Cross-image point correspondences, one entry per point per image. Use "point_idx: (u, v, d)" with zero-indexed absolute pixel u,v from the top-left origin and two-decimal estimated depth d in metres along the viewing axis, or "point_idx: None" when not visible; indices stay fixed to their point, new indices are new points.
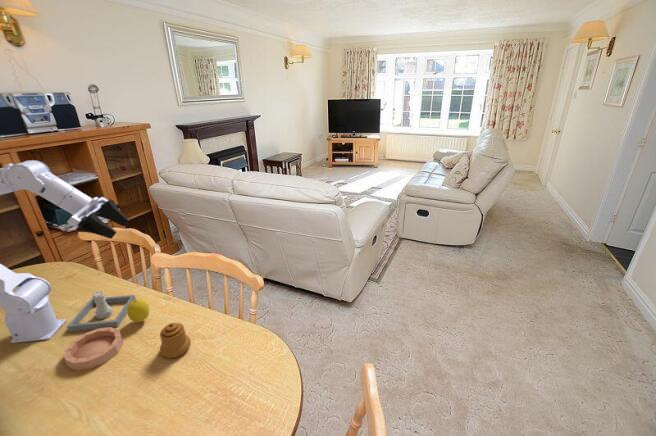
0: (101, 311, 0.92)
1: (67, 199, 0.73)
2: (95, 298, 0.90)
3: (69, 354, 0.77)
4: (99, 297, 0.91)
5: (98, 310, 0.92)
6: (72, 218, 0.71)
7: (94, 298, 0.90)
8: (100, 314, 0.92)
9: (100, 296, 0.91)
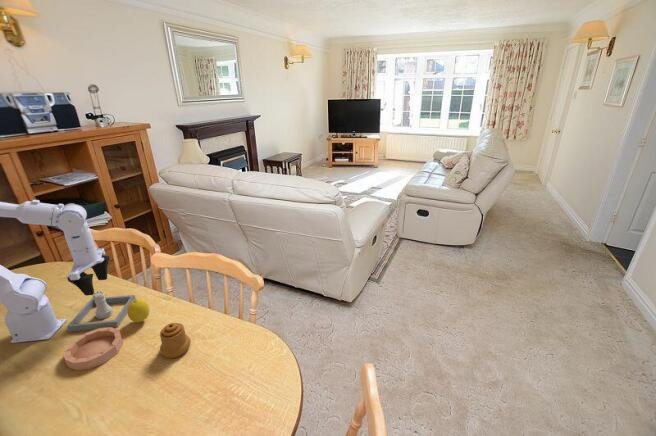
0: (101, 311, 0.92)
1: (82, 252, 0.83)
2: (95, 298, 0.90)
3: (69, 354, 0.77)
4: (99, 297, 0.91)
5: (98, 310, 0.92)
6: (75, 275, 0.81)
7: (94, 298, 0.90)
8: (100, 314, 0.92)
9: (100, 296, 0.91)
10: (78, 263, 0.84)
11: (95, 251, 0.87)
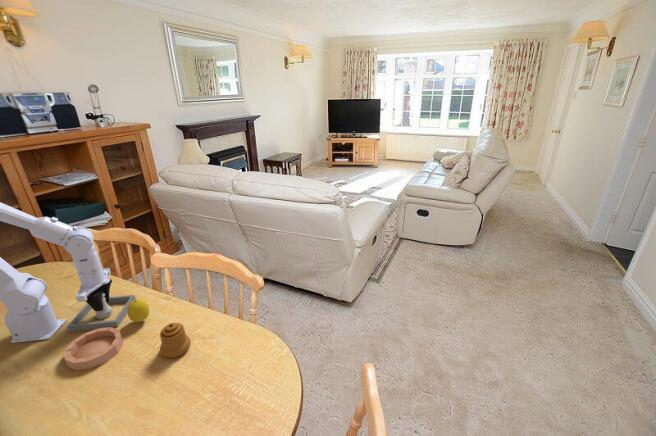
0: (101, 311, 0.92)
1: (89, 275, 0.86)
2: None
3: (69, 354, 0.77)
4: None
5: None
6: (83, 297, 0.83)
7: None
8: (100, 314, 0.92)
9: None
10: (85, 285, 0.87)
11: (101, 272, 0.89)
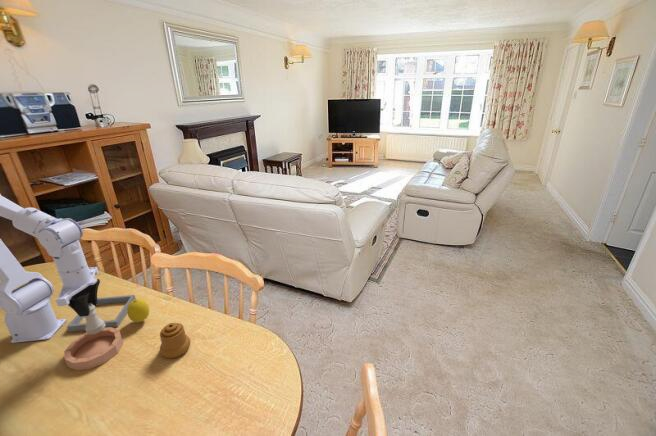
0: (91, 326, 0.81)
1: (73, 274, 0.74)
2: None
3: (69, 354, 0.77)
4: None
5: (88, 325, 0.81)
6: (64, 300, 0.71)
7: None
8: (90, 329, 0.81)
9: (89, 309, 0.80)
10: (67, 286, 0.75)
11: (87, 272, 0.77)
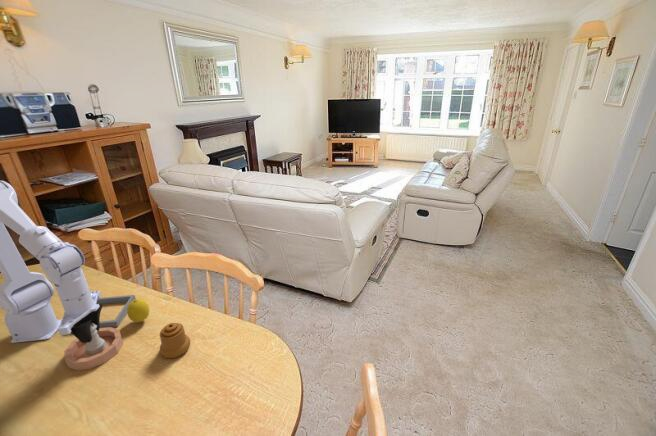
0: (91, 346, 0.79)
1: (74, 301, 0.72)
2: None
3: (69, 354, 0.77)
4: None
5: (88, 345, 0.79)
6: (66, 329, 0.69)
7: None
8: (90, 350, 0.78)
9: (90, 329, 0.77)
10: (69, 313, 0.73)
11: (89, 298, 0.75)
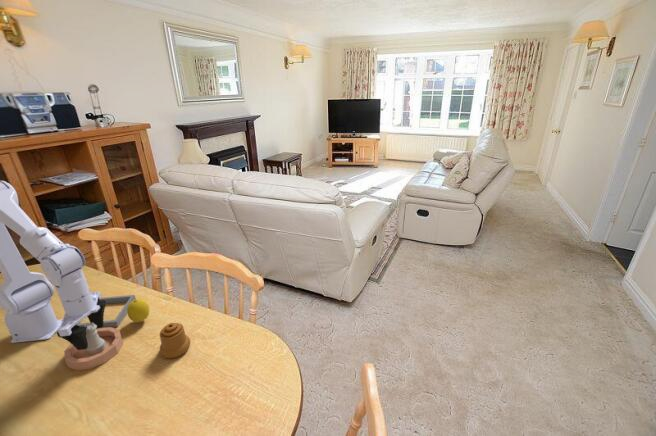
0: (91, 346, 0.79)
1: (75, 302, 0.72)
2: None
3: (69, 354, 0.77)
4: (89, 330, 0.77)
5: (88, 345, 0.79)
6: (66, 330, 0.69)
7: None
8: (90, 350, 0.78)
9: (90, 329, 0.77)
10: (70, 314, 0.73)
11: (90, 299, 0.75)
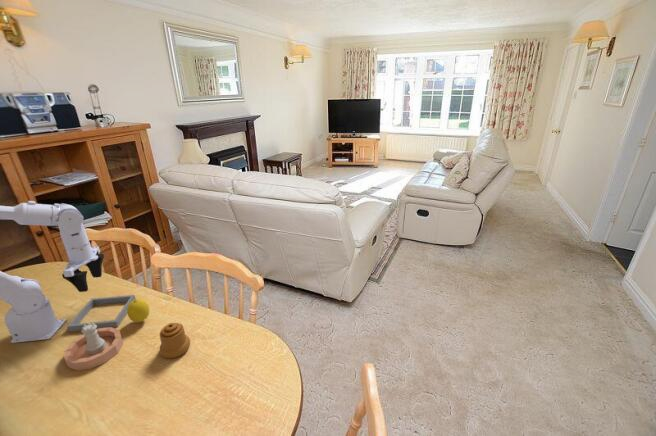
0: (91, 346, 0.79)
1: (77, 250, 0.86)
2: (84, 332, 0.77)
3: (69, 354, 0.77)
4: (89, 330, 0.77)
5: (88, 345, 0.79)
6: (69, 272, 0.84)
7: (83, 331, 0.77)
8: (90, 350, 0.78)
9: (90, 329, 0.77)
10: (73, 260, 0.87)
11: (89, 249, 0.90)
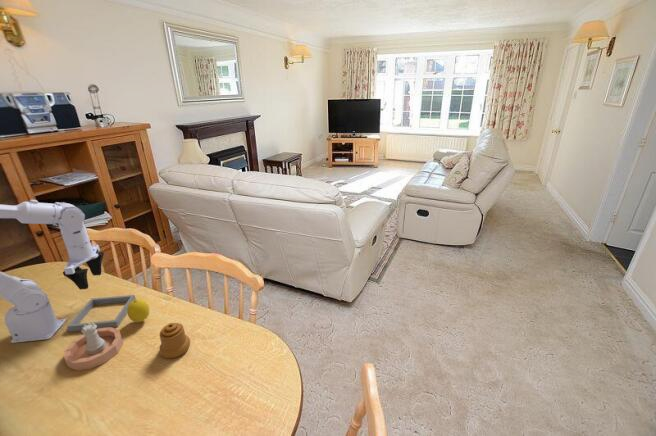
0: (91, 346, 0.79)
1: (78, 248, 0.88)
2: (84, 332, 0.77)
3: (69, 354, 0.77)
4: (89, 330, 0.77)
5: (88, 345, 0.79)
6: (70, 269, 0.85)
7: (83, 332, 0.77)
8: (90, 350, 0.78)
9: (90, 329, 0.77)
10: (73, 258, 0.88)
11: (90, 247, 0.91)
